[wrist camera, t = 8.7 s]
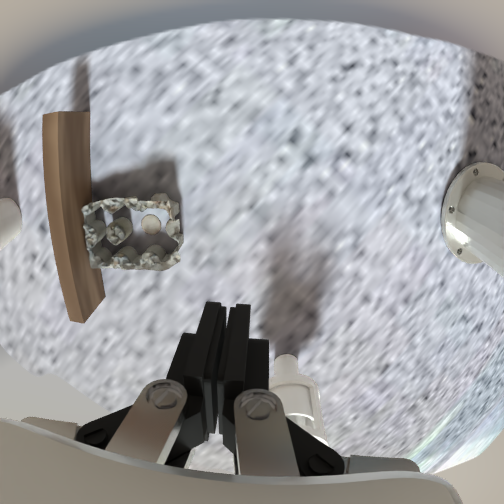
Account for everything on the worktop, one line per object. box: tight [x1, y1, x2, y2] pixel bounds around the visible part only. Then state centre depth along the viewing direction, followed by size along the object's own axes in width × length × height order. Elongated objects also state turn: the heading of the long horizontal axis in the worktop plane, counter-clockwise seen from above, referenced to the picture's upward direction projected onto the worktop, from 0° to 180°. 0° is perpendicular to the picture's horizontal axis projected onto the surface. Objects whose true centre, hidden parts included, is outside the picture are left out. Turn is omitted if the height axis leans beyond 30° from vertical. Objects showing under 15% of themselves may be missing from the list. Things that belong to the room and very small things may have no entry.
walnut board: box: [42, 111, 105, 323], centre depth 28 cm, size 2×22×6 cm, turn 177°
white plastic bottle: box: [269, 354, 328, 446], centre depth 31 cm, size 7×7×15 cm
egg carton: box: [81, 193, 183, 271], centre depth 30 cm, size 11×8×4 cm
